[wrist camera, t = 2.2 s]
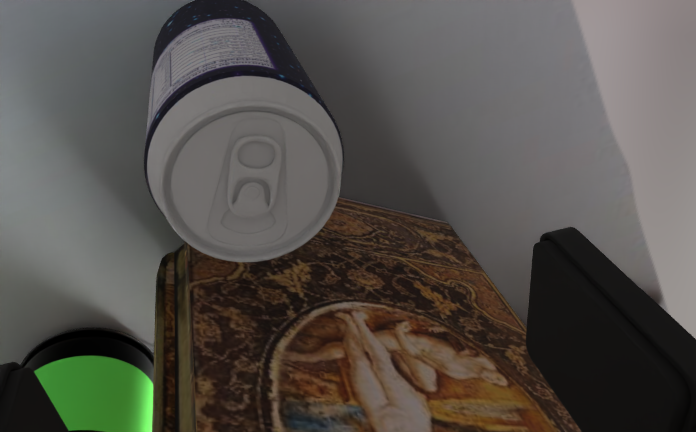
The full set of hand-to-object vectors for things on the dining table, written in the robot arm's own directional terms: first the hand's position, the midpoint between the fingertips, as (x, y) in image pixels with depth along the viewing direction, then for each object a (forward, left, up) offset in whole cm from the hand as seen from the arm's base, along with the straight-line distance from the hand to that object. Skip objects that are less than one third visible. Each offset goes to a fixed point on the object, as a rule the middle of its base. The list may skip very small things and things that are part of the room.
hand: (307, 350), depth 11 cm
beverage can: (0, 0, -18) cm, 18 cm away
